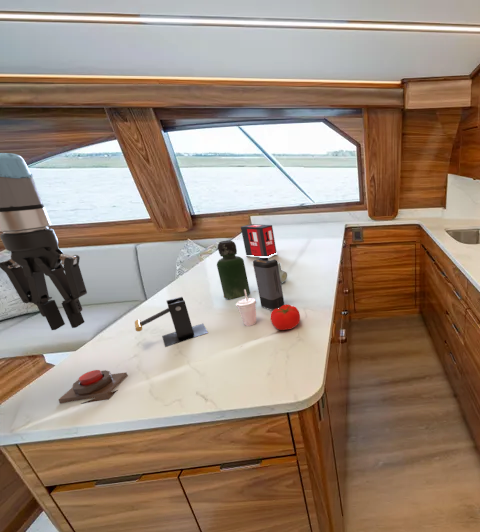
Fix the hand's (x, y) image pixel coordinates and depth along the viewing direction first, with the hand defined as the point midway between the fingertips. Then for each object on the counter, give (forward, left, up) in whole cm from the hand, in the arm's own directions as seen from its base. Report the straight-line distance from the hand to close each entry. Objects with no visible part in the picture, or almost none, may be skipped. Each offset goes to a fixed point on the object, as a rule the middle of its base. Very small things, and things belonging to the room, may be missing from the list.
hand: (68, 325), depth 71 cm
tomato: (+44, +24, -20) cm, 54 cm away
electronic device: (+36, +42, -20) cm, 59 cm away
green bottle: (+18, +58, -20) cm, 64 cm away
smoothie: (+31, +27, -20) cm, 46 cm away
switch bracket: (+11, +24, -20) cm, 33 cm away
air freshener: (+33, +70, -20) cm, 80 cm away
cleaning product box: (+15, +123, -20) cm, 125 cm away
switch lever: (+7, +22, -10) cm, 25 cm away
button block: (0, 0, -20) cm, 20 cm away
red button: (0, 0, -16) cm, 16 cm away
